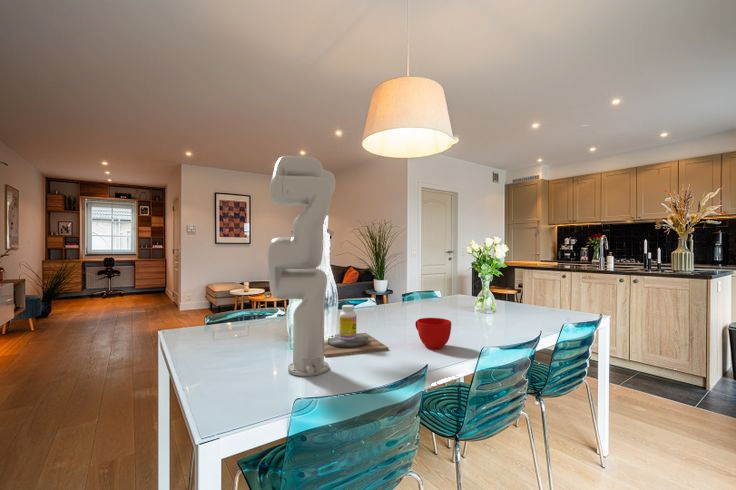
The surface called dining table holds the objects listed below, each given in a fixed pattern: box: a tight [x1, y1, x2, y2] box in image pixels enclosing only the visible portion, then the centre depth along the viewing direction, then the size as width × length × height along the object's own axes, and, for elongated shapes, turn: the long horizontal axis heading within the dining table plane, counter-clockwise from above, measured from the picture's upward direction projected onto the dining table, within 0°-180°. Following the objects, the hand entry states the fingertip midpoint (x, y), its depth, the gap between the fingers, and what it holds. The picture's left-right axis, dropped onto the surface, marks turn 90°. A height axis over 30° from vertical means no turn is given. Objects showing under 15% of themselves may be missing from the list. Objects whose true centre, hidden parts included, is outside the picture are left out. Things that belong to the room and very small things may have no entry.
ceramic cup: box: [414, 317, 452, 350], centre depth 136 cm, size 13×17×10 cm
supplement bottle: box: [338, 304, 357, 340], centre depth 137 cm, size 7×7×13 cm
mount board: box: [324, 332, 390, 358], centre depth 137 cm, size 24×24×2 cm
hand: (312, 252), depth 142 cm, fingers open, 9 cm apart
